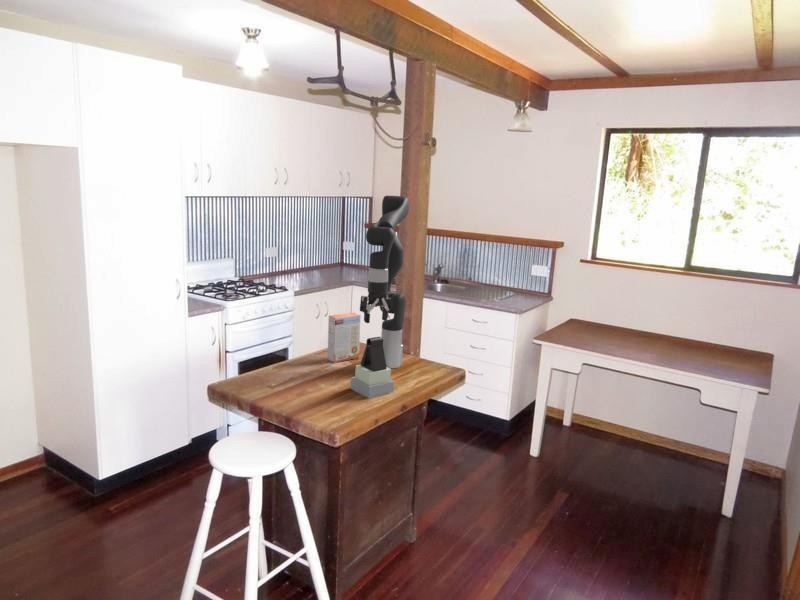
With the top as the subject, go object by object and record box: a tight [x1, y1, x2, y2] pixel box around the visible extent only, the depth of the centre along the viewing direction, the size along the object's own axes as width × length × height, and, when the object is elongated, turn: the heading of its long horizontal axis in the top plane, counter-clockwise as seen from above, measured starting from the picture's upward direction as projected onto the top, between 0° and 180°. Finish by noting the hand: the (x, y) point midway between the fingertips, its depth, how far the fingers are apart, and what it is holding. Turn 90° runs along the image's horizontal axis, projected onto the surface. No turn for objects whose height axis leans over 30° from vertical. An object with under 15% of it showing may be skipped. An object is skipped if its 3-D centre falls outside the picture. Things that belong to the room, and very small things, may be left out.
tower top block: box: [354, 364, 392, 386], centre depth 217 cm, size 10×10×5 cm
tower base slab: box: [349, 376, 395, 399], centre depth 218 cm, size 12×12×5 cm
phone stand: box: [359, 336, 387, 372], centre depth 215 cm, size 9×6×12 cm, turn 41°
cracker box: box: [327, 312, 361, 363], centre depth 252 cm, size 14×6×21 cm, turn 130°
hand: (375, 321), depth 213 cm, fingers open, 8 cm apart
